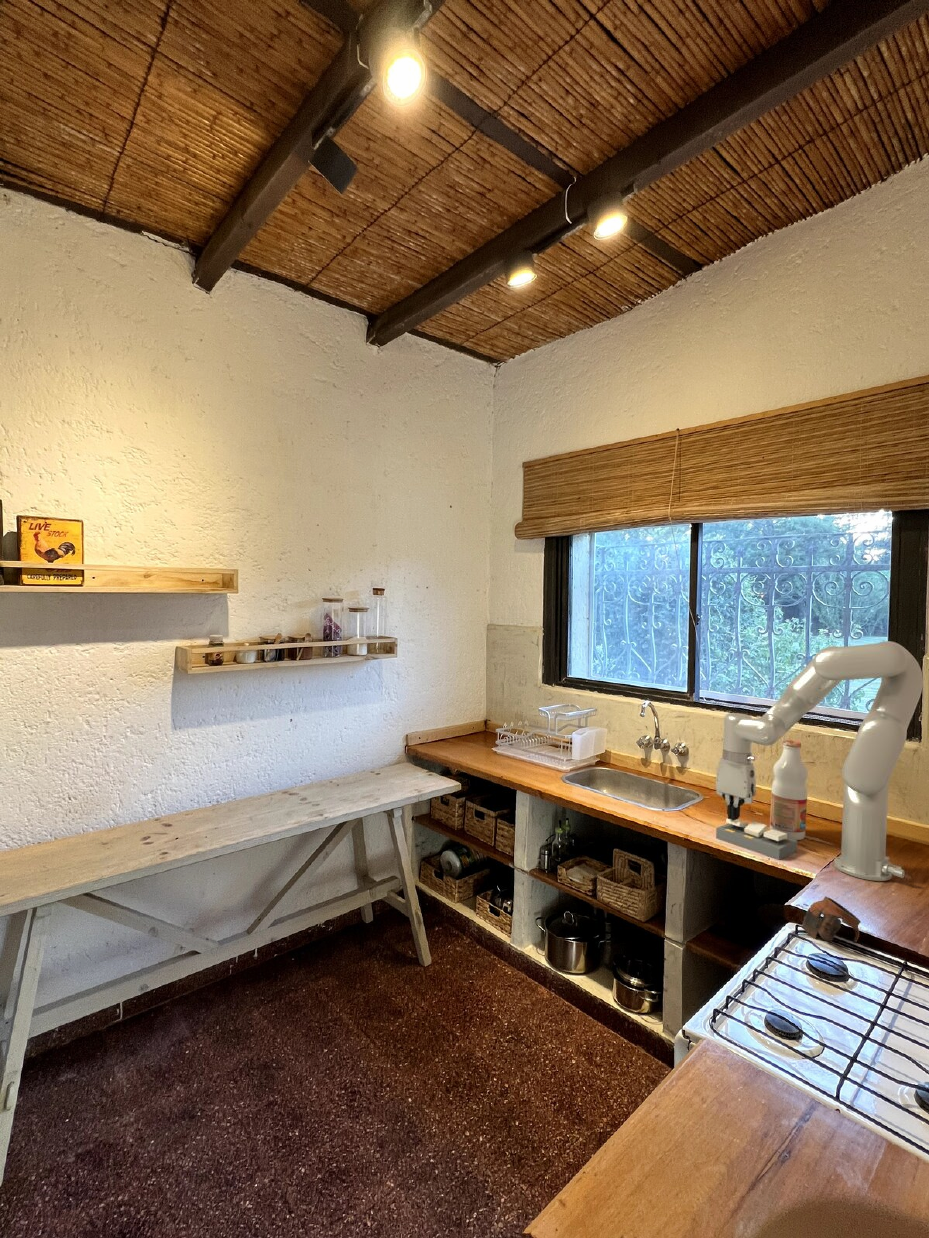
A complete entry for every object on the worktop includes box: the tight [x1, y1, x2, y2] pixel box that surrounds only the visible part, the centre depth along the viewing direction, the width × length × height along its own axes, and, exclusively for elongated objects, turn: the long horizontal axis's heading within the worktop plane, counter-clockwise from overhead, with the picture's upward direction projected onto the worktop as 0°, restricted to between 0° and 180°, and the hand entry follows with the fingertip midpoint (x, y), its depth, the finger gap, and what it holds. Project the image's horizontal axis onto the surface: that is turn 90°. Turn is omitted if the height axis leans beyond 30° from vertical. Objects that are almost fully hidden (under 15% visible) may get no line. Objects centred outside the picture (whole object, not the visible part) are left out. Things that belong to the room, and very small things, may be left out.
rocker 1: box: [725, 817, 749, 828], centre depth 174 cm, size 4×5×2 cm
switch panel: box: [715, 823, 798, 861], centre depth 170 cm, size 18×10×3 cm, turn 37°
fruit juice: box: [769, 739, 809, 841], centre depth 178 cm, size 9×9×28 cm
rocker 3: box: [764, 829, 787, 841], centre depth 165 cm, size 4×5×2 cm
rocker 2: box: [744, 820, 768, 837], centre depth 170 cm, size 4×5×2 cm
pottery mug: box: [801, 895, 862, 943], centre depth 122 cm, size 12×10×8 cm
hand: (733, 818), depth 173 cm, fingers closed
